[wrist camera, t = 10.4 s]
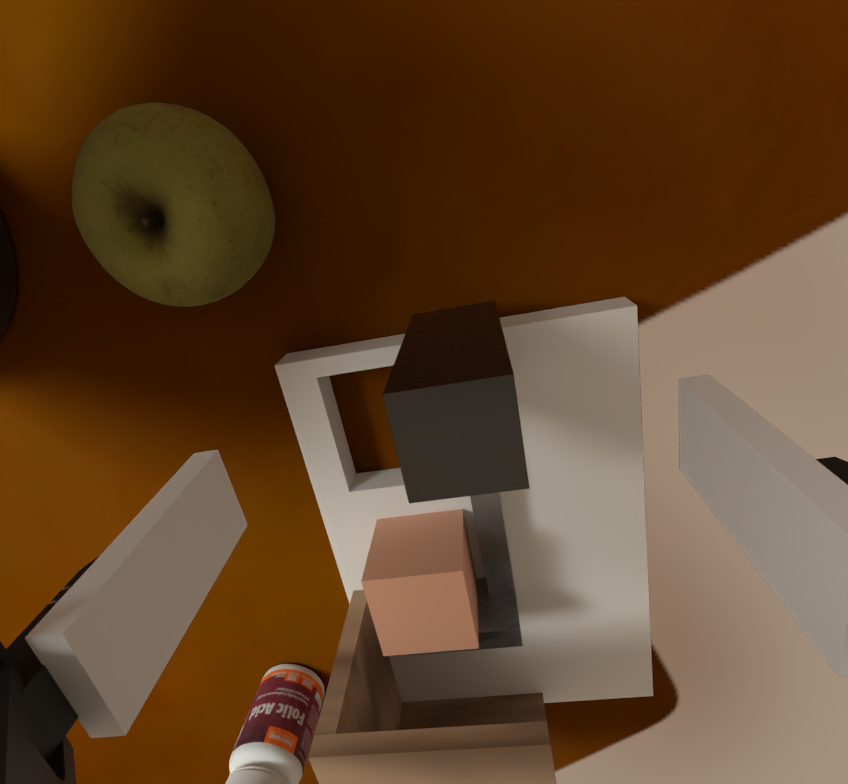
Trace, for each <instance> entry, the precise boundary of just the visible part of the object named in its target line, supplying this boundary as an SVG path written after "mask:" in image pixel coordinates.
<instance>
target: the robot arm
mask: <svg viewBox="0 0 848 784" xmlns="http://www.w3.org/2000/svg"><path fill="white" fill-rule="evenodd" d="M16 289H17V275H16V264H15V258H14V252H13V248H12V244H11V240H10V237H9V234H8V231H7V228H6V225H5V222H4V220H3V218H2V215H1V213H0V339H1V337H2V336H3V334H4V332H5V331H6V329H7V327H8V324H9V322H10V319H11V317H12V314H13V310H14V306H15V299H16ZM679 468H680V469H681V471H682V472H683V473H684V475H685V476H686V477H687V478H688V480H689V481H690V482H691V484H692V485H693V486H694V488H695V489H696V490H697V492H698V493H699V494H700V495H701V497H702V498H703V499H704V501H705V502H706V503H707V505H708V506H709V507H710V508H711V510H712V511H713V513H714V514H715V515H716V517H717V518H718V519H719V520H720V522H721V523H722V524H723V526H724V527H725V528H726V530H727V531H728V532H729V534H730V535H731V536H732V538H733V539H734V540H735V541H736V543H737V544H738V545H739V547H740V548H741V549H742V551H743V552H744V553H745V555H746V556H747V557H748V558H749V560H750V561H751V562H752V564H753V565H754V566H755V567H756V569H757V570H758V572H759V573H760V574H761V576H762V577H763V578H764V579H765V581H766V582H767V583H768V584H769V586H770V587H771V589H772V590H773V591H774V592H775V594H776V595H777V597H778V598H779V599H780V600H781V602H782V603H783V604H784V606H785V607H786V608H787V609H788V611H789V612H790V614H791V615H792V616H793V617H794V619H795V620H796V621H797V623H798V624H799V625H800V627H801V628H802V629H803V631H804V632H805V633H806V635H807V636H808V637H809V638H810V640H811V641H812V642H813V644H814V645H815V646H816V648H817V649H818V650H819V652H820V653H821V654H822V655H823V657H824V658H825V659H826V661H827V662H828V663H829V665H830V666H831V667H832V669H833V670H834V671H835V673H836V674H837V675H838V676H839V677H840V676H848V462H846V461H844V460H841V459H839V458H837V457H830V458H823V459H814V458H813V457H812V456H811V455H809V454H808V453H807V452H806V451H804V450H803V449H802V448H801V447H799V446H798V445H797V444H796V443H794V442H793V441H792V440H791V439H789V438H788V437H787V436H785V435H784V434H783V433H782V432H780V431H779V430H778V429H777V428H775V427H774V426H773V425H772V424H770V423H769V422H768V421H766V420H765V419H764V418H763V417H762V416H760V415H759V414H758V413H757V412H755V411H754V410H753V409H752V408H750V407H749V406H748V405H747V404H745V403H744V402H743V401H742V400H740V399H739V398H738V397H736V396H735V395H734V394H733V393H731V392H730V391H729V390H728V389H726V388H725V387H724V386H722V385H721V384H720V383H719V382H718V381H716V380H715V379H714V378H713V377H711V376H710V375H704V376H697V377H690V378H684V379H679ZM246 527H247V522H246V519H245V517H244V514H243V512H242V509H241V507H240V504H239V502H238V499H237V497H236V494H235V492H234V489H233V486H232V484H231V481H230V479H229V476H228V474H227V471H226V469H225V466H224V464H223V461H222V459H221V456H220V454H219V451H218V450H212V451H205V452H198V453H194V454H193V455H192V456H191V457H190V458H189V459H188V460H187V461H186V462H185V463H184V465H183V466H182V467H181V468H180V469H179V470H178V471H177V472H176V473H175V474H174V476H173V477H172V478H171V479H170V480H169V481H168V482H167V483H166V484H165V485H164V486H163V488H162V489H161V490H160V491H159V492H158V493H157V494H156V495H155V496H154V497H153V498H152V500H151V501H150V502H149V503H148V504H147V505H146V506H145V507H144V508H143V509H142V510H141V512H140V513H139V514H138V515H137V516H136V517H135V518H134V519H133V520H132V521H131V522H130V524H129V525H128V526H127V527H126V528H125V529H124V530H123V531H122V532H121V533H120V534H119V536H118V537H117V538H116V539H115V540H114V541H113V542H112V543H111V544H110V545H109V546H108V548H107V549H106V550H105V551H104V552H103V553H102V554H101V555H100V556H98V557H97V558H96V559H94V560H93V561H92V562H90V563H89V564H88V565H86V566H85V567H83V568H82V569H81V570H80V571H79V572H78V573H77V574H76V575H75V576H74V577H73V578H72V579H71V580H70V582H69V583H68V584H67V585H66V586H65V590H61V591H60V592H59V593H58V594H57V595H56V597H55V598H54V599H53V600H52V603H51V604H48V605H47V606H46V607H45V608H44V609H43V610H42V612H41V613H40V614H39V615H38V616H37V617H36V618H35V619H34V620H33V621H32V622H31V623H30V624H29V625H28V627H27V628H26V629H25V630H24V631H23V632H22V633H21V634H20V635H19V636H18V637H17V638H16V639H15V640H14V642H13V643H12V644H11V645H10V646H9V647H8V648H7V649H5V647H4V646H3V644H2V643H1V641H0V784H76V775H75V764H74V753H73V747H72V745H71V743H70V741H69V740H68V739H67V737H66V734H67V733H68V731H69V730H70V728H71V727H72V725H73V724H74V723H75V721H76V720H77V718H78V720H79V721H80V723H81V724H82V726H83V727H84V729H85V730H86V732H87V733H88V735H89V736H90V738H100V737H112V736H124V735H126V734H127V732H128V730H129V729H130V727H131V725H132V724H133V722H134V720H135V718H136V717H137V715H138V713H139V711H140V710H141V708H142V706H143V705H144V703H145V701H146V699H147V698H148V696H149V694H150V693H151V691H152V689H153V687H154V686H155V684H156V682H157V680H158V679H159V677H160V675H161V674H162V672H163V670H164V668H165V667H166V665H167V663H168V661H169V660H170V658H171V656H172V655H173V653H174V651H175V649H176V648H177V646H178V644H179V642H180V641H181V639H182V637H183V636H184V634H185V632H186V630H187V629H188V627H189V625H190V623H191V622H192V620H193V618H194V617H195V615H196V613H197V611H198V610H199V608H200V606H201V604H202V603H203V601H204V599H205V598H206V596H207V594H208V592H209V591H210V589H211V587H212V585H213V584H214V582H215V580H216V579H217V577H218V575H219V573H220V572H221V570H222V568H223V567H224V565H225V563H226V561H227V560H228V558H229V556H230V554H231V553H232V551H233V549H234V548H235V546H236V544H237V542H238V541H239V539H240V537H241V535H242V534H243V532H244V530H245V529H246Z"/></svg>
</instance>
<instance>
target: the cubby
mask: <svg viewBox="0 0 848 784" xmlns="http://www.w3.org/2000/svg"><path fill="white" fill-rule="evenodd" d="M309 760H310V763H311V765H312V768H313V770H314V773H315V775H316V777H317V780H318V782H319V784H556V777H555V771H554V764H553V757H552V751H551V744H550V738H549V731H548V725H547V719H546V713H545V706H544V700H543V693H529V694H515V695H500V696H485V697H471V698H456V699H441V700H427V701H412V702H402V700H401V696H400V693H399V689H398V686H397V683H396V679H395V676H394V672H393V669H392V666H391V662H390V659H389V656H383V653H382V649H381V646H380V643H379V639H378V636H377V633H376V629H375V626H374V623H373V619H372V616H371V613H370V609H369V606H368V603H367V600H366V596H365V593H364V590H354V591H353V594H352V598H351V601H350V605H349V609H348V612H347V616H346V620H345V624H344V627H343V631H342V635H341V639H340V642H339V646H338V650H337V653H336V657H335V661H334V665H333V668H332V672H331V676H330V679H329V683H328V687H327V691H326V694H325V698H324V702H323V705H322V709H321V713H320V717H319V720H318V724H317V728H316V732H315V735H314V739H313V743H312V746H311V750H310V754H309Z"/></svg>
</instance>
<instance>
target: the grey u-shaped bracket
mask: <svg viewBox="0 0 848 784" xmlns="http://www.w3.org/2000/svg"><path fill="white" fill-rule="evenodd" d="M383 398H384V402H385V407H386V411H387V415H388V419H389V423H390V427H391V431H392V435H393V440H394V444H395V448H396V452H397V456H398V460H399V464H400V468H401V473H402V477H403V481H404V485H405V489H406V493H407V497H408V502H409V503H417V502H425V501H433V500H441V499H449V498H458V497H466V496H470V498H471V503H472V509H473V514H474V519H475V524H476V530H477V535H478V540H479V546H480V551H481V556H482V561H483V567H484V572H485V577H486V578H478V579H477V605H478V637H479V648H478V649H466V650H454V651H442V652H430V653H418V654H407V655H408V656H410V655H422V654H434V653H446V652H458V651H470V650H483V649H495V648H507V647H519V646H523V644H522V636H521V628H520V620H519V612H518V604H517V596H516V589H515V583H514V576H513V570H512V564H511V558H510V552H509V546H508V540H507V534H506V528H505V522H504V516H503V510H502V504H501V498H500V492H506V491H514V490H522V489H530V488H529V480H528V473H527V466H526V459H525V452H524V444H523V437H522V430H521V423H520V416H519V409H518V401H517V394H516V387H515V380H514V373H513V369H512V365H511V362H510V358H509V354H508V350H507V346H506V342H505V338H504V334H503V330H502V326H501V322H500V318H499V314H498V311H497V307H496V303H495V301H490V302H484V303H478V304H473V305H467V306H461V307H456V308H450V309H444V310H439V311H433V312H427V313H421V314H416V315H412V318H411V321H410V323H409V326H408V328H407V331H406V334H405V336H404V339H403V342H402V344H401V347H400V350H399V352H398V355H397V358H396V360H395V363H394V365H393V368H392V371H391V373H390V376H389V379H388V381H387V384H386V387H385V389H384V392H383Z"/></svg>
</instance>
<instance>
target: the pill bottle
mask: <svg viewBox="0 0 848 784" xmlns="http://www.w3.org/2000/svg"><path fill="white" fill-rule="evenodd" d="M323 698H324V685H323V682H322V680H321V679H320V678H319V676H318V675H317V674H315V673H314V672H313V671H312V670H310V669H308V668H306V667H303V666H300V665H296V664H280V665H277V666H274V667H272V668H271V669H269V670H268V671H267V672H266V674H265V675H264V677H263V679H262V682H261V684H260V686H259V689H258V691H257V693H256V696H255V698H254V701H253V703H252V706H251V708H250V710H249V713H248V715H247V718H246V720H245V723H244V725H243V727H242V730H241V732H240V735H239V737H238V739H237V742H236V744H235V747H234V749H233V752H232V754H231V757H230V762H229V770H230V775H229V778H228V780H227V782H226V784H298V783H299V782H300V779H301V777H302V774H303V770H304V766H305V762H306V759H307V755H308V752H309V748H310V745H311V741H312V737H313V734H314V730H315V727H316V723H317V719H318V716H319V712H320V709H321V705H322V701H323Z"/></svg>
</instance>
